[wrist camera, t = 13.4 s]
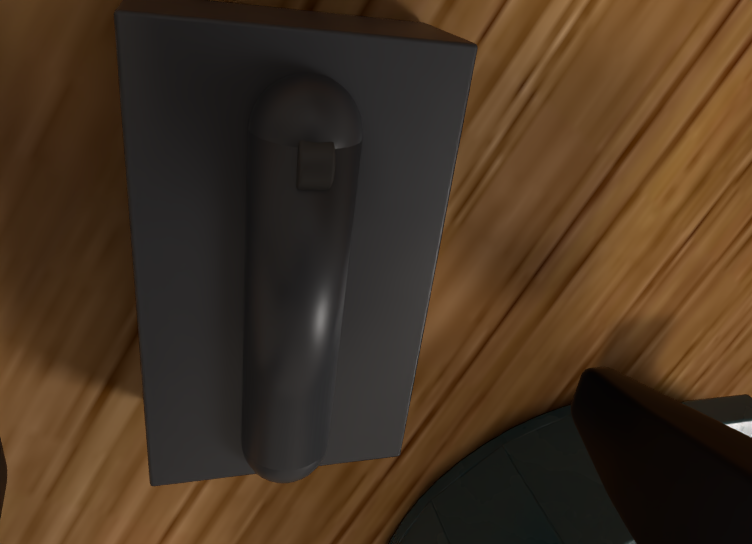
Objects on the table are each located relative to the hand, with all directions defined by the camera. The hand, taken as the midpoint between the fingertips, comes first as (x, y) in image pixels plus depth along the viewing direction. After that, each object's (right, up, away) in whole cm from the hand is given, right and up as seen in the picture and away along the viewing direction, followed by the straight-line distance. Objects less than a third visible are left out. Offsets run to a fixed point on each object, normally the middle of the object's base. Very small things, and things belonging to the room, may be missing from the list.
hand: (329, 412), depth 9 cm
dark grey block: (-2, +3, +5) cm, 6 cm away
